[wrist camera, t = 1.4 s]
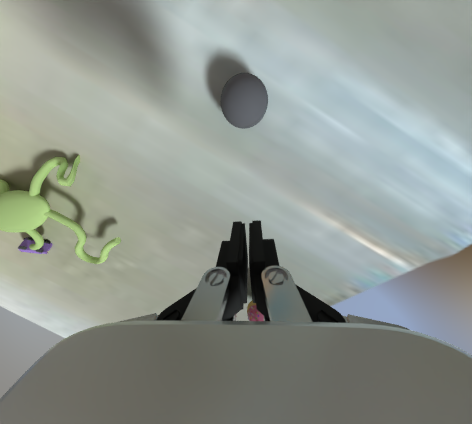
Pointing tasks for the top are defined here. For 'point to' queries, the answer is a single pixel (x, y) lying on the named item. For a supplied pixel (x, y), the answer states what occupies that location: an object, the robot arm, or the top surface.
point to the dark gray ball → (244, 100)
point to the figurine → (42, 212)
